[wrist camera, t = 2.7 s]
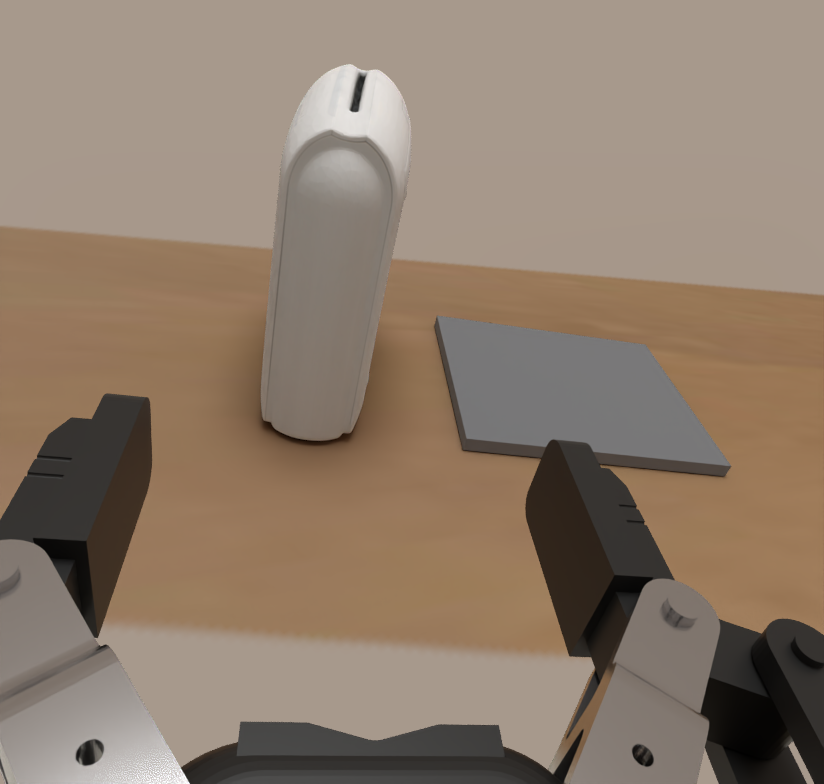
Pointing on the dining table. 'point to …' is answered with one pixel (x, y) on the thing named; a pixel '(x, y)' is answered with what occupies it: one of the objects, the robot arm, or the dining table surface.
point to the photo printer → (333, 250)
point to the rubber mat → (569, 397)
